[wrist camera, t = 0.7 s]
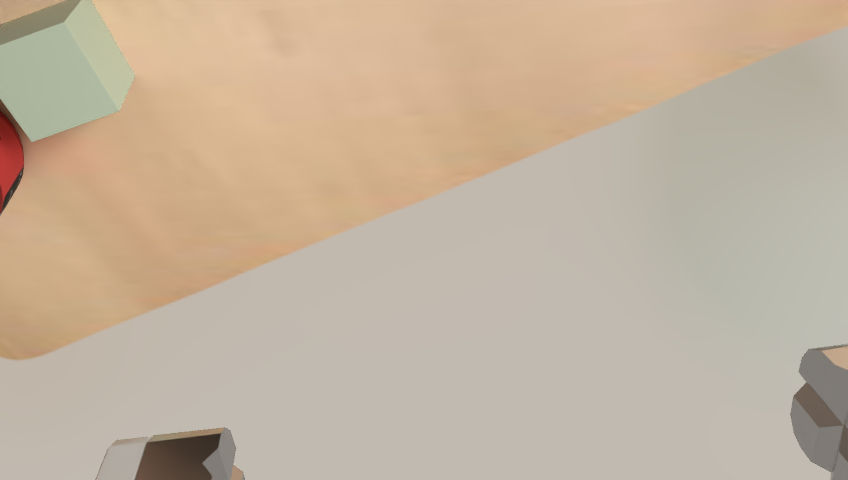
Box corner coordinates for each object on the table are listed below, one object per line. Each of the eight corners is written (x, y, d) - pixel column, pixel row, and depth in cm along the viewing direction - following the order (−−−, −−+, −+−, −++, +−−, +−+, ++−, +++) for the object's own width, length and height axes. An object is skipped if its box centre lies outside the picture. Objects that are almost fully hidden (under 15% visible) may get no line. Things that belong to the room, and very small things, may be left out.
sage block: (3, 23, 39) (-31, 56, 35) (87, -8, 39) (63, 22, 35) (56, 103, 42) (31, 142, 38) (135, 74, 42) (119, 111, 38)
